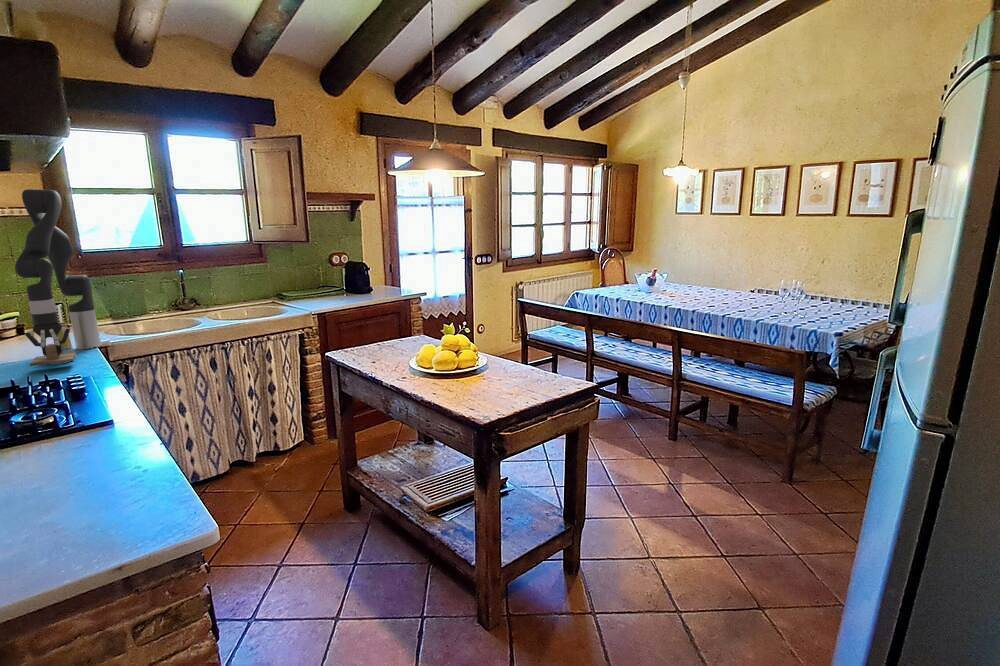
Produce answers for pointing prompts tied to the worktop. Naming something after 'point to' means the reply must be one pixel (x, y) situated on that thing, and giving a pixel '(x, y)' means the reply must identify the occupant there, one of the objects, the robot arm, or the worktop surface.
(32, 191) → the robot arm
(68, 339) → the vase
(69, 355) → the lid
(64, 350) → the bowl
